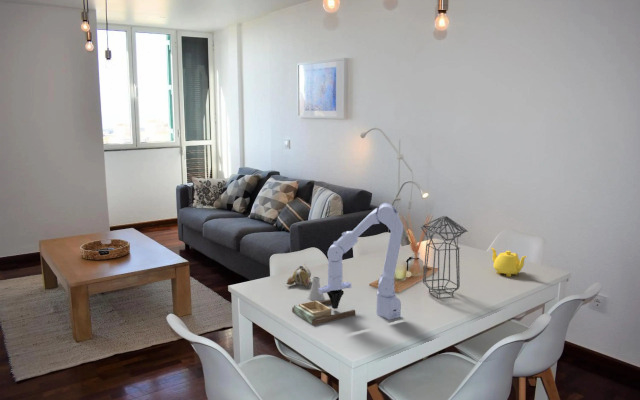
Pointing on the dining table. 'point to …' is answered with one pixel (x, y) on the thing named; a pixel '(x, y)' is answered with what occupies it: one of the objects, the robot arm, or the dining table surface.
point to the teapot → (507, 263)
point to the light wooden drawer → (316, 309)
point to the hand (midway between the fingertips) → (334, 308)
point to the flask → (315, 290)
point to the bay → (313, 321)
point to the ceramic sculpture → (300, 276)
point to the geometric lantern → (445, 252)
